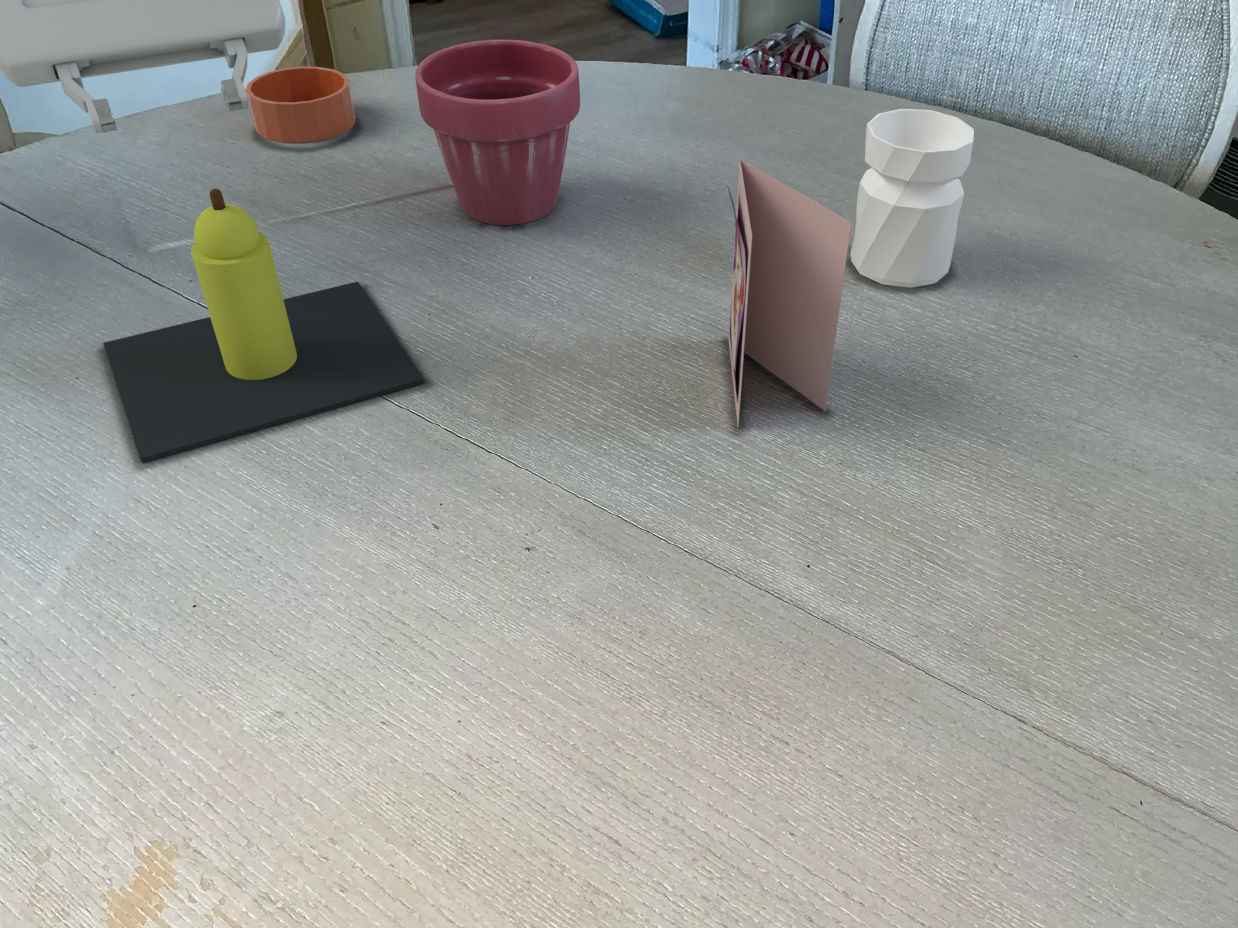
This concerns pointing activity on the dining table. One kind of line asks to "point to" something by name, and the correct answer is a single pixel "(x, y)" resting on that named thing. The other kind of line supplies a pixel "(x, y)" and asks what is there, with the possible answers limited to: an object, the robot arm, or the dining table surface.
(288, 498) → the dining table surface
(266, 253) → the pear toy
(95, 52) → the robot arm
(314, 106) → the orange round bowl
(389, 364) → the mat
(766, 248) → the greeting card
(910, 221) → the vase
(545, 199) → the flower pot
